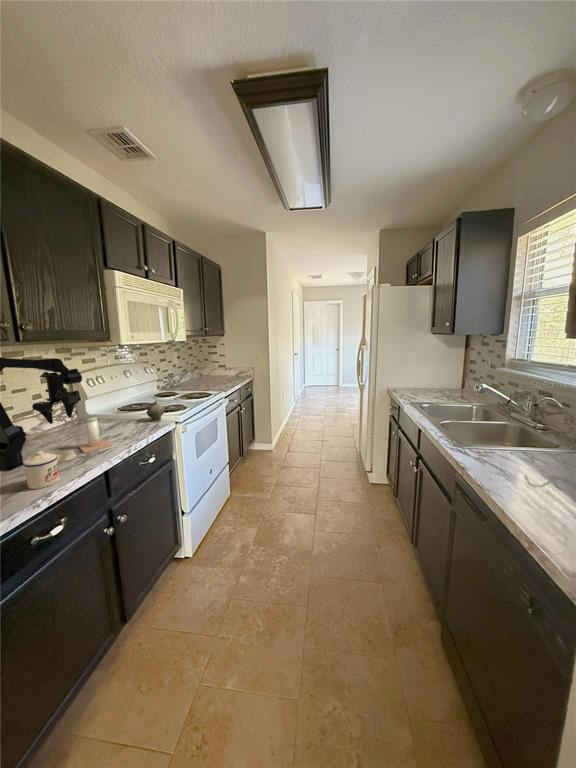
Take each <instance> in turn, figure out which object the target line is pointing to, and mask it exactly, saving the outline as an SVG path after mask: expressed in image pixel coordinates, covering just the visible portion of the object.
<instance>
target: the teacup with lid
mask: <svg viewBox="0 0 576 768" xmlns="http://www.w3.org/2000/svg"><path fill="white" fill-rule="evenodd" d="M56 455H57V454H56V453H47V452H44V451H43V450H39V451H36V452H35V455H32V456H30V457H29V458H26V459H25V460H23V462H24V463H23V465H22V466H23V467H24V472H25V478H26V483H27V487H28V488H29V489H30V490H31V489H32V490H38V489H44V487H45V488H48V487H51V486H52V485H53V486H54V485H55V484H57V482H59V481H60V478H61V477H60V473H59V466H58V465H59V464H58V463H57V456H56ZM50 485H51V486H50ZM47 486H48V487H47Z"/></svg>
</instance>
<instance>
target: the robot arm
mask: <svg viewBox="0 0 576 768" xmlns="http://www.w3.org/2000/svg"><path fill="white" fill-rule="evenodd" d="M5 368H13V369H14V368H15V369H36V370H39V371H40V370H41V371H43V373H42V374H41V375H40V376H39V378H41V379H43V378H44V379H45V380H46V386H47V389H45V391H44V392H45V393H48V398H46V401H39V402H34V403H33V404H32V405H31V408H32V411H35V412H38V413H40V414H41V415H42V416H43V417H44V418H45V420H46V421H47V422H48V423H49V424H50V425H52V424H54V422H53V421H54V420H53V419H54V418H53V412H54V410H55V409H54V407H53V406H56V405H61V404H62V405H63V406H64V410H65V412H66V416H67V419H70V418H72V414H73V411H74V409H75V408H74V407H75V406H76V405H77V404H79V403H80V401H82V399H81V396H80V395H81V393H80V391H79V390H73V391H68V388H67V387H65V386H64V385H75V384H80V383H82V381H83V375H82V374H81V372H80V371H79V370H78V368H70V369H69V368H68V367H67V366H66V365H65V364H64V362H63V360H61V359H60V358H57V357H56V358H55V357H46V358H44V357H43V358H35V359H28V358H26V359H25V358H7V357H3V356H1V357H0V373H2V371H3V370H4V369H5ZM26 436H28V434H27V433H26V432H25V431H24V427H23V426H21V425H15V424H13V421H12V420H11V418H10V417H9V414H8V413H7V411H6V409H5V407H4V405H3V404H2V402H1V401H0V471H7V470H9V471H12V470H14V469H17V468H18V467H21V466H23V463H24V460H23V459H24V458H23V454H22V452H23V448H24V444H25V443H26V442H27V437H26ZM11 469H12V470H11Z"/></svg>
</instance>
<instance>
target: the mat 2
mask: <svg viewBox="0 0 576 768" xmlns="http://www.w3.org/2000/svg"><path fill="white" fill-rule="evenodd" d="M100 443H101V444H100V445H99V446H95V447H89V444H88V442H87V443H83V444H79V445H77V447H78V448H79V450H81V452H82V453H84V454H86V453H89V452H93V451H97V450H101V449H105V448H109V447H113V444H111V443H110V442H109V441H108V440H107V439H105V438H103V439H100Z"/></svg>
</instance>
